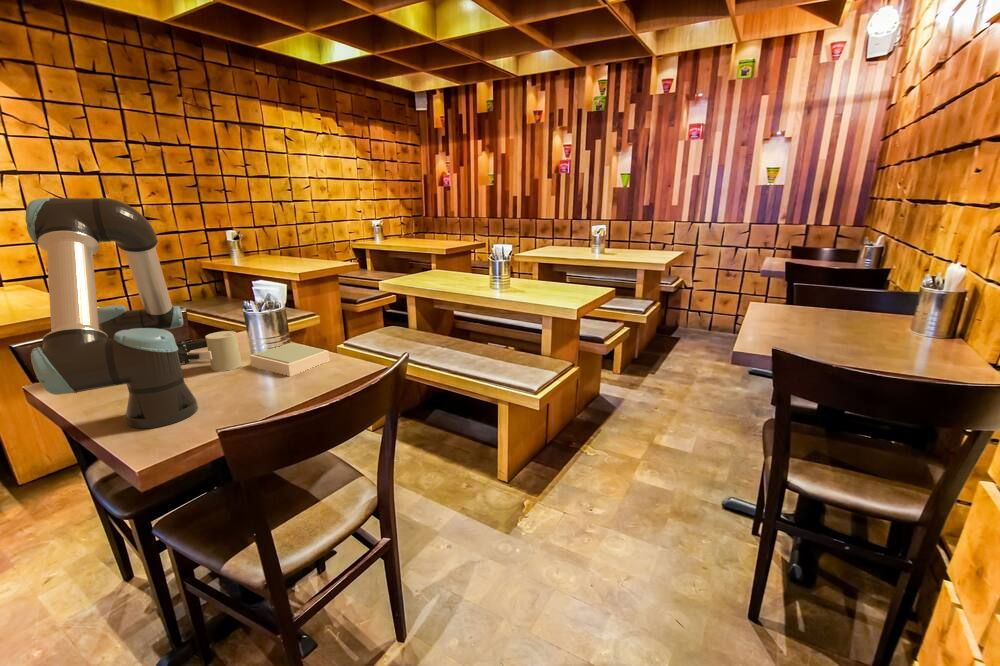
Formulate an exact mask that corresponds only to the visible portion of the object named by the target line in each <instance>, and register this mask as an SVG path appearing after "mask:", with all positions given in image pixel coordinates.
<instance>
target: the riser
mask: <svg viewBox="0 0 1000 666" xmlns="http://www.w3.org/2000/svg"><path fill="white" fill-rule="evenodd" d="M279 346H280V347H278V346H275V347H276V348H275V347H272V348H269V349H265V350H262V351H259V352H256V353H253V354H249V361H250V366H251V367H253V368H256V369H259V370H263V371H268V372H271V373H275V374H278V373H279V375H282V374H283V376H286V375H287V377H292V376H295V374H296V375H299V374H301V373H303V371H304V372H306V371H308V370H307V369H309V370H311V369H313V368H312V367H314V368H316V367H315V366H317V365H319V366H321V365H320V364H322V363H325V362H327V363H329V362H328V361H330V354H329V353H330V351H329V350H326V349H322V348H316V347H312V346H309V345H303V344H297V343H293V342H288V343H285V344H282V346H281V345H279ZM330 362H331V361H330ZM325 364H326V363H325ZM322 365H323V364H322ZM317 367H318V366H317ZM310 368H311V369H310ZM305 370H306V371H305ZM300 372H301V373H300Z"/></svg>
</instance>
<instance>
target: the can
mask: <svg viewBox="0 0 1000 666" xmlns="http://www.w3.org/2000/svg"><path fill="white" fill-rule="evenodd" d="M204 337H205V338H206V342H207V347H206V348H207V351H211V355H212V359H211V360H209V362H210V368H211V369H212V370H214V371H213V372H216V371H222V372H226V371H225V370H229V371H232V370H231V369H234V370H236V368H237V369H239V368H241V367H242V366H243V362H242V358H241V353H240V346H239V342H238V340H239V339H238V334H237V332H236V331H235V330H234V331H233V330H221V331H217V332H213V333H208V334H206V335H204ZM205 338H204V339H205ZM240 366H241V367H240ZM212 370H211V371H212Z"/></svg>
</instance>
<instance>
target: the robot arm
mask: <svg viewBox="0 0 1000 666" xmlns="http://www.w3.org/2000/svg"><path fill="white" fill-rule="evenodd" d="M25 210H26V211H25V223H26V230H27V233H28V235H29V238H30V240H31V241H32V242H34V244H37V245H38V247H40V248H41V249H42V251H44V252H46V258H47V260H46V261H47V262H46V263H47V276H48V278H47V279H48V295H49V312H50V313H49V314H50V330H51V331H49V332H48V333H46V334H44V336H43V337H42V347H41V346H36V347H34V348H32V350H31V351H30V352H31V353H30V360H31V366H32V369H33V371H34V374H35V376H36V378H37V381H38V382H39V384H40V386H42V388H43V389H44V390H45V391H46V392H47V393H49V394H51V395H56V396H57V395H58V396H60V395H66V394H67V395H68V394H78V393H81V392H82V393H83V392H86V391H92V390H98V389H103V388H105V389H106V388H109V387H110V388H111V387H117V386H121V385H126V387H127V391H128V399H127V400H128V401H127V406H126V413H125V418H126V422H127V425H128V426H129V427H130V428H133V429H153V428H160V427H163V426H168V425H171V424H174V423H178V422H181V421H183V420H185V419H187V418H189V417H191V416H193V415H194V414H195V413H196V412H197V411H198V409H199V406H198V401H197V399H196V397H195V396H194V394H193V393H192V391H191V389H190V387H188V385H187V384H186V383H185V379H184V374H183V370H182V366H181V364H183V363H184V364H190V361H210V360H211V359H212V355H211V351H208V350H203V351H195V350H200V349H205V348H208V347H207V342H206V338H199V339H191V340H186V341H185V340H183V341H181V340H180V341H178V342H176V339H175V337H174V334H173V333H172V332H171V331H169V330H171V329H177V328H180V327H183V326H184V318H183V313H182V309H181V306H179V305H173V304H172V300H171V298H170V293H169V290H168V286H167V283H166V279H165V277H164V273H163V270H162V265H161V263H160V258H159V255H158V252H157V249H156V247H157V246H158V243H159V242H158V237H157V234H156V231H155V229H154V228H153V226H152V224H151V223H150V222H149V221H148V220H147V218H146V217H145V216H143V214H142V213H140V212H139V211H138V210H137V209H135V208H134V207H132V206H131V205H129V204H127V203H125V202H123V201H121V200H117V199H115V198H114V199H113V198H108V197H99V198H97V197H95V198H94V197H89V198H88V197H86V198H83V197H81V198H80V197H79V198H78V197H73V198H71V197H69V198H67V197H66V198H63V197H62V198H61V197H60V198H58V197H52V196H51V197H48V198H46V197H45V198H36V199H33V200H31V201H30V202H29V203H28V204H27V205H26V209H25ZM111 242H115V244H116V246H117V247H118V249H120V250H121V251H123V253H124V256H125V258H126V259H125V260H126V262H127V264H128V266H129V267H128V268H129V270H130V273H131V275H132V279H133V282H134V285H135V288H136V289H137V293H138V296H139V299H140V301H141V302H140V303H141V304H142V307H143V309H131V310H127V309H126V306H124V305H123V304H115V305H113V304H112V305H106V306H102V307H99V308H98V302H97V300H98V299H97V291H96V290H97V289H96V280H95V277H96V276H95V268H94V258H93V257H94V256H93V255H94V254H96V253H97V252H98V251H99V250H100V243H111Z"/></svg>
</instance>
